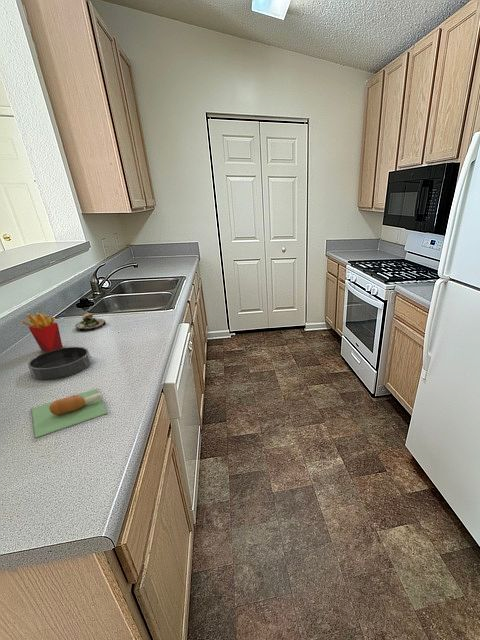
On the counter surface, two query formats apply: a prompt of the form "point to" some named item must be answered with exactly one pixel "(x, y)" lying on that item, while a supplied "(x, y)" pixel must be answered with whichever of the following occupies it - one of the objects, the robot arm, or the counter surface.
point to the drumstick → (72, 403)
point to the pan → (59, 363)
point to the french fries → (45, 332)
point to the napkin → (65, 416)
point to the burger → (89, 322)
